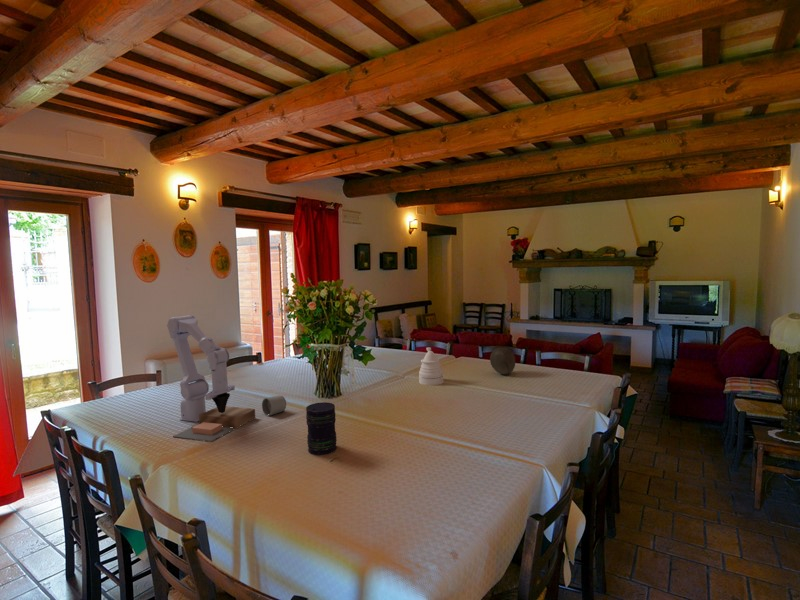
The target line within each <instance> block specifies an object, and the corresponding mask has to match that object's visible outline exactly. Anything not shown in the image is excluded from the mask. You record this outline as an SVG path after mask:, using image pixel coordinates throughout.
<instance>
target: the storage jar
mask: <svg viewBox="0 0 800 600" xmlns="http://www.w3.org/2000/svg"><path fill="white" fill-rule="evenodd" d="M335 406H336V405H335V404H334V403H332V402H324V401H323V402H316V403H315V402H314V403H312V404H309V405H307V406H306V407H305V408H306V409H305V412H306V414H305V418H306V425H307V437H306V439H307V442H306V443H307V447H308V449H307V452H308V453H309V454H310V455H312V456H325V455H326V456H327V455H329V454H332V453H335V452H336V450H337V431H336V407H335Z"/></svg>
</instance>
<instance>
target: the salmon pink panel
mask: <svg viewBox="0 0 800 600" xmlns="http://www.w3.org/2000/svg"><path fill="white" fill-rule="evenodd" d="M198 424H199V425H198ZM198 424H196V425H197V426H196V425H194V426H195V427H193V426H191V427H192V433H199V434H208V435H212V434H214V433H216V432H218V431H220V430H222V424H216V423H206V422H203V423H201V424H200V423H198Z"/></svg>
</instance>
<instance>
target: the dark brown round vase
mask: <svg viewBox="0 0 800 600" xmlns="http://www.w3.org/2000/svg"><path fill="white" fill-rule="evenodd" d="M489 361H490V362H489V363H490V365H491V368H493V370H494V371H495V372H497V373H498V374H500V375H505V376H506V375H509V374H511V373H512V372H514V369H515V368H516V367H515V366H516V357H515V354H514V352H512V350H511V349H510V348H507V347H497V348H495V349H493V351H492V352H491V353H490V357H489Z"/></svg>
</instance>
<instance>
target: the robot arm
mask: <svg viewBox="0 0 800 600" xmlns="http://www.w3.org/2000/svg"><path fill="white" fill-rule="evenodd" d="M166 327H167V330H168V333H169V335H170V338H171V339H172V342H173V345H174V347H175V351H176V354H177V358H178V361H179V364H180V367H181V370H182V374H183V378H182V380H181V381H180V383H179V387H180V394H181V397H182V400H181V401H180V405H179V407H180V416H181V417H180V419H179V420H180V421H186V422H187V421H188V422H195V423H196V422H197V423H198V422H199V415H200V414H202V413H205V412H207V409H206V400H207V401H210V400H212V401H213V402H214V404H215V405H216V407H217V409H218V412H220V413H223V412H225V409H226V406H227V404H228V401H229V399H230V398H231V397H230V396H231V394H230V393H229V392H232V391H235V390H236V388H235V387H236V386H235V385H234V384H230V385H228V384H229V383H228V372H227V371H228V369H227V367H228V366H227V363H228V362H229V359H230V353H229V351H228V349H226V348H225V347H221V346H219V345H218V343H216V341H215V340H213V337H211V336H208V337H207V336H206V334H205V333H204V332H203V330H202V329H201V328H200V326H198V319H197V318H196V316H195V315H193V314H188V315H183V316H181V315H179V316H171V317H169V318H168V321H167V325H166ZM189 336H192V337H193V338H194V339H195V340H196V341H197V342H198V348H199V349H200V350H201V351H202V352H203V353H204V354H205V355H206V356H207V357H206V358H207V362H208V364H209V368H210V370H211V384H212V385H211V386H212V390H211V391H210V392H209V390H210V386H209V382H207V380H206V378H205V375H203V374H200V373H198V369H197V366H196V364H195V360H194V357H193V354H192V350H191V347H190V344H189V340H188V338H189Z"/></svg>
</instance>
